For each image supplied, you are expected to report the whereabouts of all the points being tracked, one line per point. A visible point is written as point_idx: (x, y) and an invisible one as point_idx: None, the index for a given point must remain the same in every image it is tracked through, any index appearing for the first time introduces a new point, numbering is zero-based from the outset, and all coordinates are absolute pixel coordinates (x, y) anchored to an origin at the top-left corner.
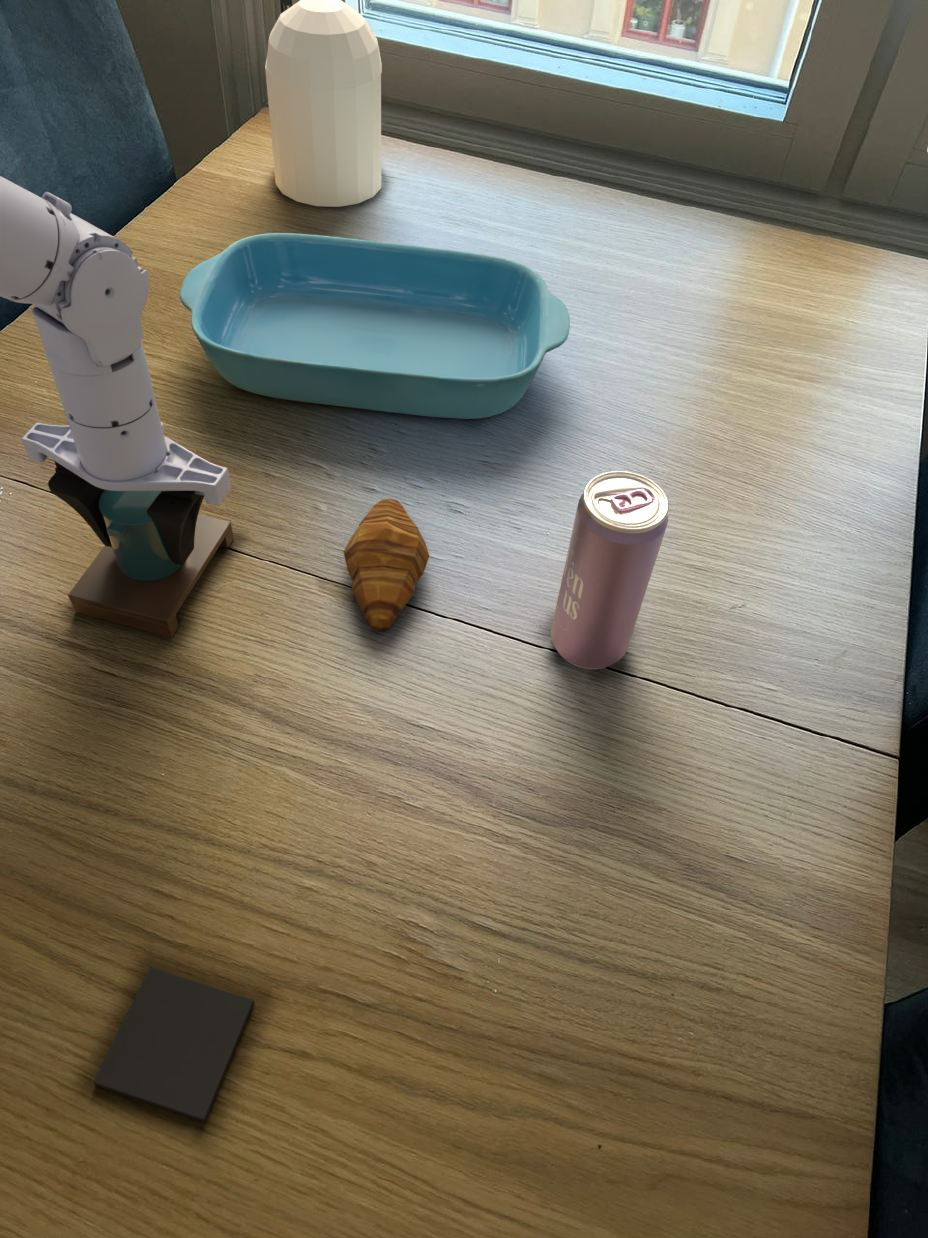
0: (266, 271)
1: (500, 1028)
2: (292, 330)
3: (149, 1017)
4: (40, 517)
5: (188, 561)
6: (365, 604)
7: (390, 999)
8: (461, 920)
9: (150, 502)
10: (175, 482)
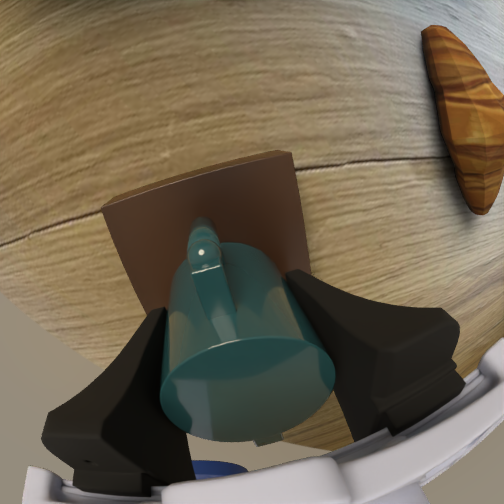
0: None
1: (493, 344)
2: None
3: None
4: (27, 285)
5: (284, 269)
6: (481, 207)
7: (468, 365)
8: (491, 329)
9: (289, 392)
10: (449, 467)
